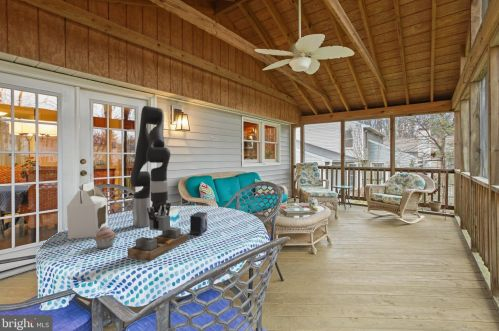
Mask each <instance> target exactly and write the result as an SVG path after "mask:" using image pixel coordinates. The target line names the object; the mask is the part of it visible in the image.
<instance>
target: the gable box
mask: <svg viewBox="0 0 499 331" xmlns="http://www.w3.org/2000/svg"><path fill="white" fill-rule="evenodd" d="M78 188H79V189H80V190H78V191H77V192H76V193H75V195H74V196H73V198H72V199H71V200H70V201H69V202H68V204H67V206H66V217H67V218H66V219H67V220H66V221H67V239H68V240H73V238H77V239H87V238H86V237H92V238H94V237H96V234H97V232H98V231H100V229H101V228H102V227H104V226H106V227H108V226H109V225H108V224H109V221H108V220H109V218H108V216H109V215H108V197H107V196H106V195H105V194H104V193H103V192H102V190H101V189H100V188H99V187H98V186H96V185H95V183H94V181H89V182H86V183H83V184H82V185H81V186H80V185H79V186H78Z"/></svg>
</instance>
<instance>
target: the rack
mask: <svg viewBox="0 0 499 331" xmlns="http://www.w3.org/2000/svg"><path fill="white" fill-rule="evenodd" d="M181 229H182V228H180V227H174V226H173V227H172V226H170V229H168V230H165V231H161V232H162V233H161V234H158V235H157V236H155V237H146V236H141V237H139V238H137V239H135V245H134V246H131V247H130V248H127V258H130V259H131V258H132V259H136V260H142V261H147V262H151V261H153V260H155V259H157V258H159V257H161V256H163V255H165V254H167V252H168V253H169V251H172V250H173V249H175V248H177V247H179V246H180V245H182V244H184V243H187V241H188V234H187V233H181V232H182V230H181Z"/></svg>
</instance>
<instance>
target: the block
mask: <svg viewBox="0 0 499 331" xmlns="http://www.w3.org/2000/svg"><path fill="white" fill-rule="evenodd" d="M155 218H156V216H155ZM149 221H150V225H149V230H151V231H159V232H160V231H161V232H162V231H165V230H168V229H170V227H171V215H169V216H167V215H160V216H159V218H158V225H159V228H158V229H154V227H153V220H150V219H149Z"/></svg>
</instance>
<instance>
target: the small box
mask: <svg viewBox="0 0 499 331" xmlns="http://www.w3.org/2000/svg"><path fill="white" fill-rule="evenodd" d="M189 218H190V219H189V220H190V221H189V225H190V226H189V235H190V236H191V235H192V236H201V235H203V234H204V233H205V232H206V231H208V212H205V211H204V212H202V211H197V212H195V213H193V214H192V215H189Z"/></svg>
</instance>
